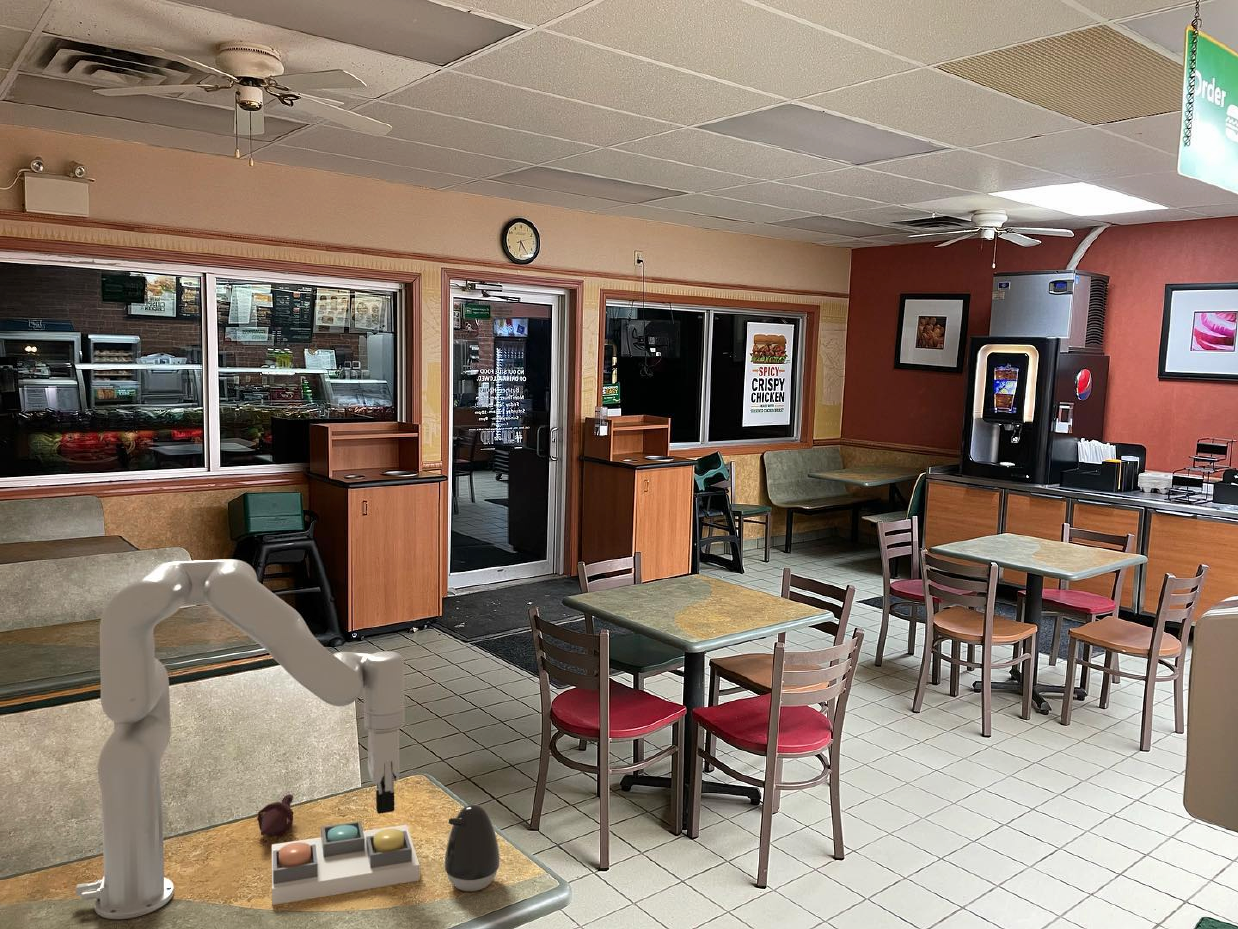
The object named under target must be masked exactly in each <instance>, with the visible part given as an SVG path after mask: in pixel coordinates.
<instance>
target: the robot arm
mask: <svg viewBox="0 0 1238 929" xmlns="http://www.w3.org/2000/svg"><path fill="white" fill-rule="evenodd" d="M203 605H207V606H208V607H209V608H210V609H211V610H212V611H214V612H215V613H216V614H218V616H220V617H221V618H223V619H224V620H225V621H227V622H229V623H230V624H231V625H232V626H233V627H235V628H237V629H238V630H239V631H241V632H242V633H243V634H245V635H246V636H248V638H250V639H251V640H253V641H254V642H255V643H256V644H257V645H259V646H261V647H262V648H263V649H265V650H266V651H267V653H269V655H270V656H271V657H272V659H273V660H274V661H276V662H277V663H278V664H279V665H280V666H281V667H282V668H283V670H285V671H286V672H287V673H288V674H289V675H290V676H291V677H292V678H293V679H294V680H295V681H296V682H297V683H299V684H300V685H301V686H302V687H303V688H305V689H306V690H308V691H309V692H310V693H312V694H313V695H314V696H316V697H317V698H318V699H320V700H322V701H323V702H325V703H327V704H328V705H331V706H334V707H347V706H349V705H352V704H353V703H355V702H356V701H357V700H358V699H359V697H360V696H361V694H362V691H363V728H364V730H366V731H368V737H367V738H368V740H367V770H368V773H369V774H368V775H369V776H370V780H371V783H372V784H374V785H376V789H377V790H375V792H376V793H375V794H376V795H375V797H376V798H375V801H376V804H375V806H376V807H375V808H376V811H377V814H378V815H379V814H387V813H393V812H394V811H395V790H394V787H395V785H394V784H395V782H397V781H398V780H399V779H400V729H401V728H403V727H404V726H405V723H406V722H405V720H406V719H405V717H406V716H405V711H406V710H405V708H406V707H405V660H404V657H403V656H402V655H401V654H400V653H398V652H395V651H389V650H387V651H384V650H383V651H376V652H373V653H364V652H354V651H339V652H338V651H337V652H334V653H332V652H331V651H329V650H328V649H327V648H326V647H324V645H323V644H322V643H321V642H320V641H319V640H317V637H315V636H314V635H313V633H312V631H311V630H310V628H309V626H308V625H307V623H306V621H305V620H304V618H303V617H302V615H301V614H300V613H299V612H298V611H297V610H296V609H295V608H293V607H292V606H291V605H289V603H287V602H285V600H283V599H282V598H280V597H279V596H278V595H276V594H275V593H273V592H272V591H271V590H270V589H268V588H267V587H266V586H265V585H264V584H262V583H260V582H259V581H258V576H257V572H256V570H255V569H254V568H253V567H252V566H251V565H250V564H249V563H247V562H246V561H243V560H240V559H235V558H234V559H231V558H229V559H212V560H211V559H209V560H189V561H188V560H187V561H186V560H184V561H170V562H163V563H160V564H159V563H158V564H157V565H154V566H153V567H151V568H150V569H149V570H147V571H146V572H145V573H144V574H143V575H141V577H140V578H138V579H137V580H135V581H133V582H132V583H130V584H128V585H127V586H126V587H124V588H122V589H120V591H118V592H116V594H114V595H113V597H111V598H110V600H109V601H108V603H106V605H105V607H104V609H103V611H102V614H101V618H100V622H99V670H100V671H99V672H100V673H99V676H100V704H101V708H102V710H103V712H104V714H105V716H106V717H107V719H108V718H109V719H110V720H111V721H113V727H114V728H113V730H114V731H113V732H112V733H111V734H110V736H109V737H108V739H107V740H106V741H105V744H104V745H103V747H102V749H101V751H100V753H99V757H98V761H97V777H98V783H99V789H100V796H101V797H100V800H101V817H102V818H101V819H102V820H101V821H102V822H101V823H102V845H103V846H102V849H103V850H102V851H103V854H102V855H103V877H102V878H101V879H97V881H96V882H84V883H79V884H76V888H75V895H76V897H80V896H81V897H80V899H81V902H83V901H90V900H92V899H95V900H94V911H95V912H96V914H97V915H98V916H100V917H102V918H105V919H109V920H125V919H133V918H139V917H142V916H144V915H147V914H150V913H152V912H155V911H157V910H158V909H160V908H162V907H164V906H165V905H166V904H168V903H169V901H171V899H172V898H173V896H174V893H175V885H174V883H173V882H172V880H170V879H168V878H167V877H165V861H164V860H165V856H164V855H165V854H164V811H163V810H164V809H163V808H164V807H163V805H164V804H163V789H162V788H163V786H162V780H161V763H162V758H163V756H164V754H165V752H166V750H167V749H168V748H167V747H168V745H169V743H170V740H171V731H172V730H171V729H172V728H171V726H172V724H171V704H170V703H171V702H170V701H171V700H170V699H171V698H170V680H169V674H168V671H167V669H166V667H165V666H164V664H163V663H162V662H161V661H160V660H159V659H157V658H155V657H156V656H155V654H156V652H155V651H156V643H155V642H156V641H155V637H154V630H155V628H156V626H157V625H158V624H159V623H160V622H162V621H163V620H166V619H168V618H170V617H171V616H173V615H174V614H175V613H176V612H178V610H179V609H180V608H181V607H187V606H189V607H191V606H203Z"/></svg>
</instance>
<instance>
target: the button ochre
mask: <svg viewBox="0 0 1238 929" xmlns="http://www.w3.org/2000/svg"><path fill="white" fill-rule="evenodd" d="M403 848H404V833H403V832H402V831H401V830H398V829H385V830H381V831H379V832H377V833H376V834H375V835H374V852H375V853H379V852H386V851H392V850H398V849H403Z"/></svg>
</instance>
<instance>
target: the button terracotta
mask: <svg viewBox="0 0 1238 929" xmlns="http://www.w3.org/2000/svg"><path fill="white" fill-rule="evenodd" d="M310 862H311V846H310V845H309V844H306V843H291V844H288V845H285V846H284V847H282V848H281V849H280V850H279V867H280V868H284V867H290V866H296V865H303V864H309V863H310Z"/></svg>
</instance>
